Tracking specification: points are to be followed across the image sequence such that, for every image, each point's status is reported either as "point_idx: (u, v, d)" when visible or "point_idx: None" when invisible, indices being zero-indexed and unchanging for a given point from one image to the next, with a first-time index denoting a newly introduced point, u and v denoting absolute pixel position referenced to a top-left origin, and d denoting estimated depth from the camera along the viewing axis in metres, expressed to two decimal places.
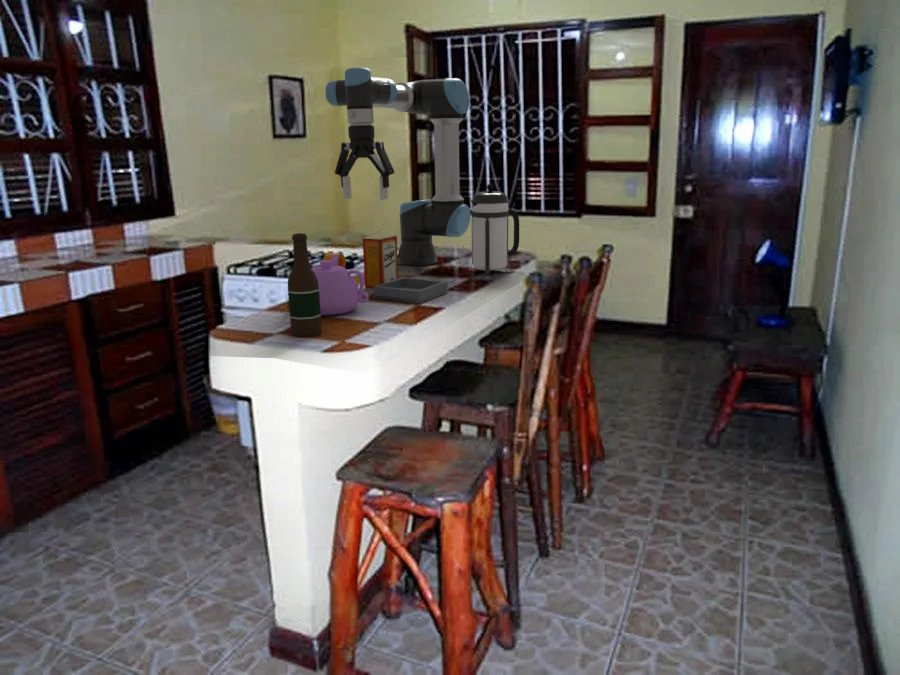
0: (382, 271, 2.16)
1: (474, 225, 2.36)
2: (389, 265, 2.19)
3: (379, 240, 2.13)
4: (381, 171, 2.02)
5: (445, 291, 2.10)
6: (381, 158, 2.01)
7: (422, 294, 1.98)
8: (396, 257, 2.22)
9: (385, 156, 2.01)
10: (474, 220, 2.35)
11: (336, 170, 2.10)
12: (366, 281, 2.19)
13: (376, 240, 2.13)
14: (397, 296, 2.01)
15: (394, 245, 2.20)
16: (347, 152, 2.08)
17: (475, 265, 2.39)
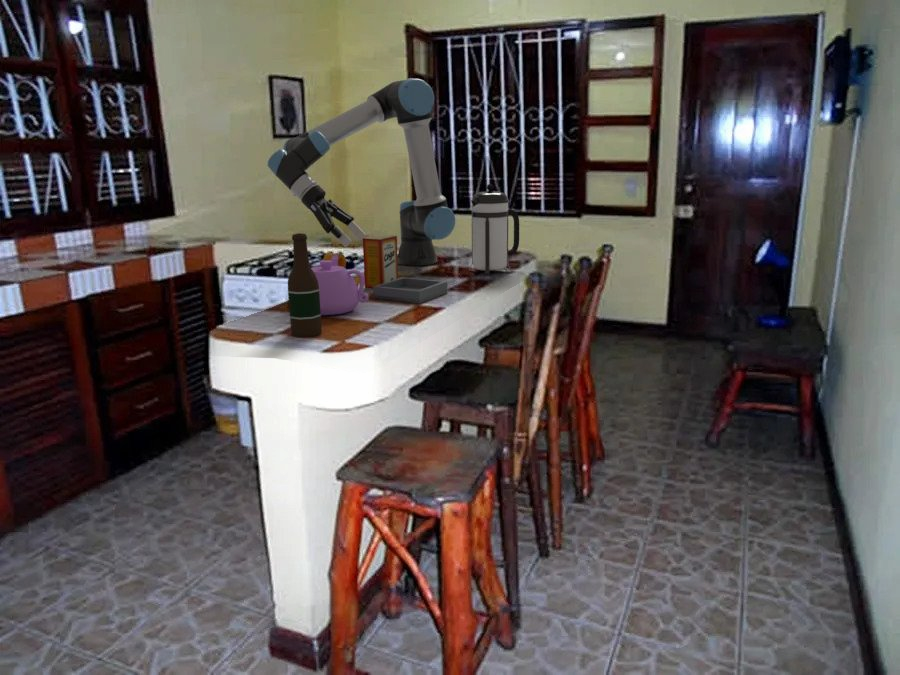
0: (382, 271, 2.16)
1: (474, 225, 2.36)
2: (389, 265, 2.19)
3: (379, 240, 2.13)
4: None
5: (445, 291, 2.10)
6: None
7: (422, 294, 1.98)
8: (396, 257, 2.22)
9: (319, 215, 2.11)
10: (474, 220, 2.35)
11: None
12: (366, 281, 2.19)
13: (376, 240, 2.13)
14: (397, 296, 2.01)
15: (394, 245, 2.20)
16: None
17: (475, 265, 2.39)
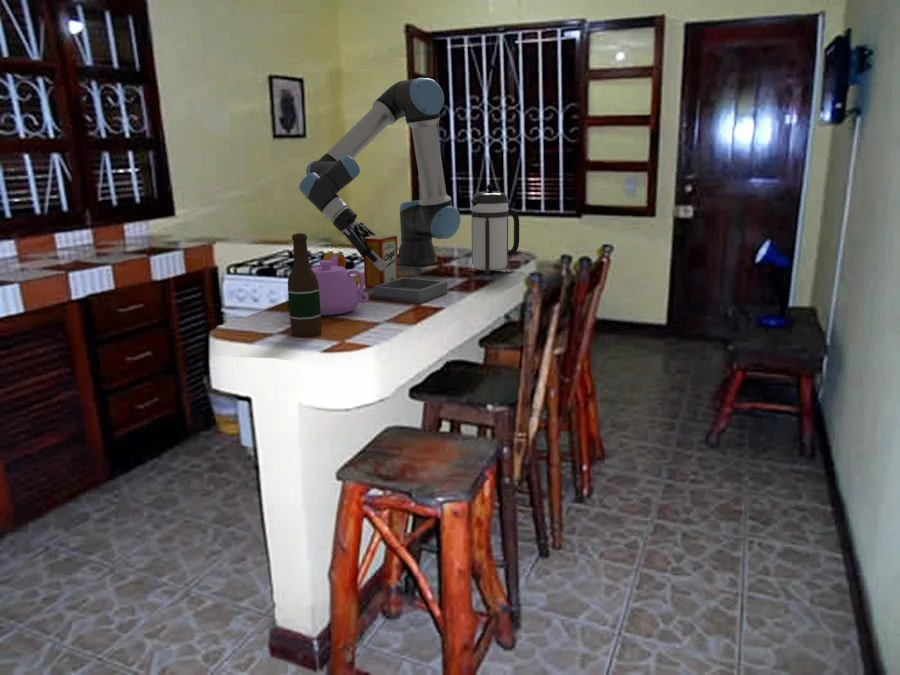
0: (383, 271, 2.16)
1: (474, 225, 2.36)
2: (389, 265, 2.19)
3: (379, 240, 2.13)
4: None
5: (445, 291, 2.10)
6: None
7: (422, 294, 1.98)
8: (396, 257, 2.22)
9: (354, 240, 2.12)
10: (474, 220, 2.35)
11: None
12: (366, 281, 2.19)
13: (376, 240, 2.13)
14: (397, 296, 2.01)
15: (394, 245, 2.20)
16: None
17: (475, 265, 2.39)
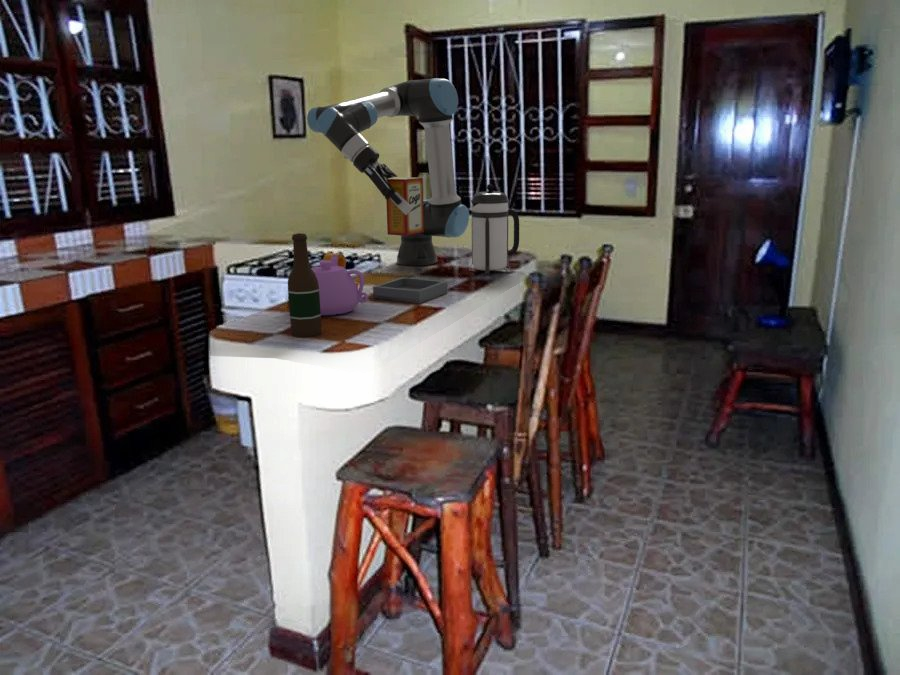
0: (407, 215, 1.97)
1: (474, 225, 2.36)
2: (414, 209, 2.00)
3: (404, 180, 1.94)
4: None
5: (445, 291, 2.10)
6: None
7: (422, 294, 1.98)
8: (422, 201, 2.03)
9: (376, 179, 1.93)
10: (474, 220, 2.35)
11: None
12: (389, 227, 2.00)
13: (401, 180, 1.94)
14: (397, 296, 2.01)
15: (420, 188, 2.01)
16: (388, 172, 2.06)
17: (475, 265, 2.39)
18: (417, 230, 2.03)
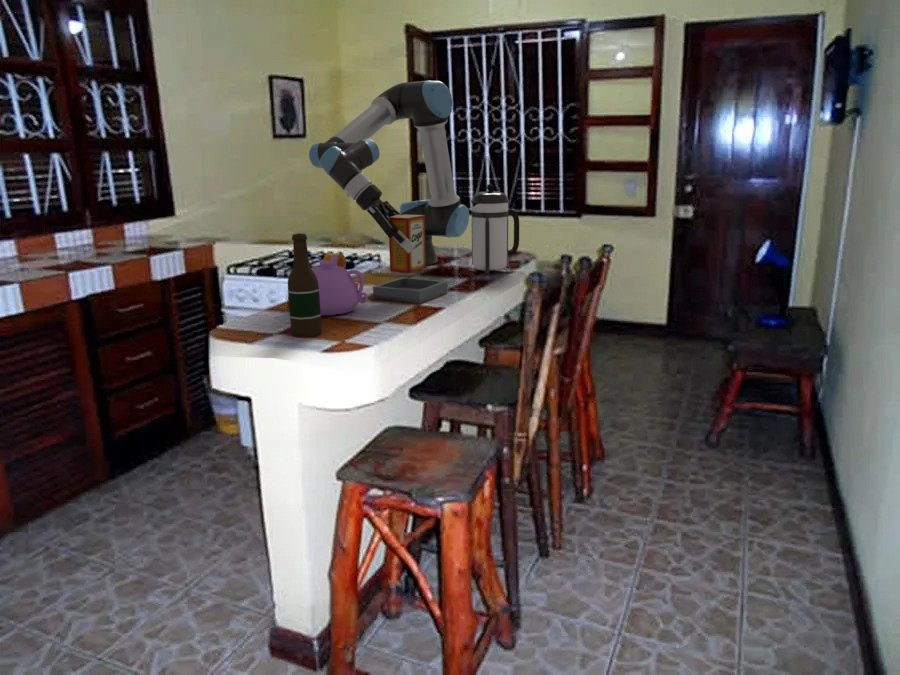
0: (410, 252, 1.99)
1: (474, 225, 2.36)
2: (416, 247, 2.02)
3: (407, 219, 1.96)
4: None
5: (445, 291, 2.10)
6: None
7: (422, 294, 1.98)
8: (424, 238, 2.05)
9: (379, 218, 1.95)
10: (474, 220, 2.35)
11: None
12: (391, 264, 2.02)
13: (403, 219, 1.96)
14: (397, 296, 2.01)
15: (422, 225, 2.03)
16: (390, 209, 2.08)
17: (475, 265, 2.39)
18: (420, 266, 2.05)
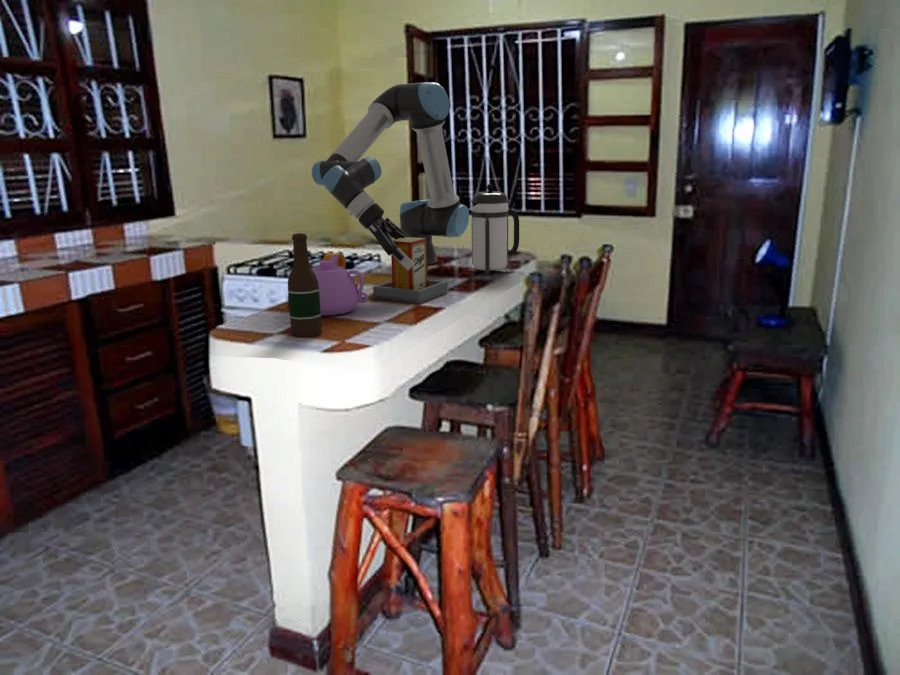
0: (412, 276, 2.02)
1: (474, 225, 2.36)
2: (418, 270, 2.04)
3: (409, 243, 1.98)
4: None
5: (445, 291, 2.10)
6: None
7: (422, 294, 1.98)
8: (425, 261, 2.08)
9: (379, 236, 1.97)
10: (474, 220, 2.35)
11: None
12: (394, 287, 2.04)
13: (406, 243, 1.99)
14: (397, 296, 2.01)
15: (424, 248, 2.06)
16: None
17: (475, 265, 2.39)
18: None
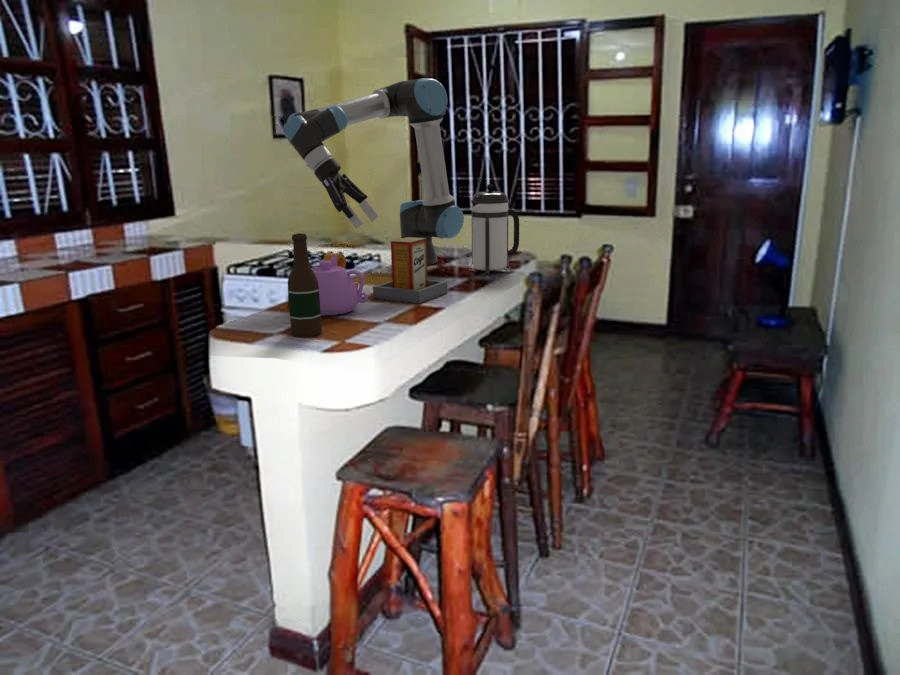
0: (412, 276, 2.02)
1: (474, 225, 2.36)
2: (418, 270, 2.04)
3: (409, 243, 1.98)
4: None
5: (445, 291, 2.10)
6: None
7: (422, 294, 1.98)
8: (425, 261, 2.08)
9: (331, 192, 2.00)
10: (474, 221, 2.35)
11: None
12: (394, 287, 2.04)
13: (406, 243, 1.99)
14: (397, 296, 2.01)
15: (424, 248, 2.06)
16: None
17: (475, 265, 2.39)
18: None
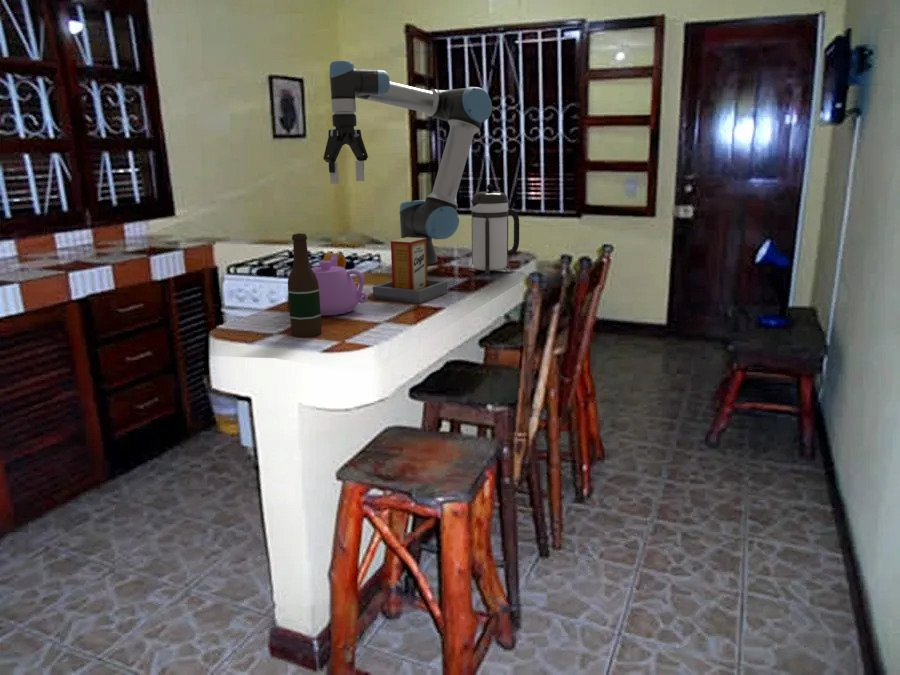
0: (412, 276, 2.02)
1: (474, 225, 2.36)
2: (418, 270, 2.04)
3: (409, 243, 1.98)
4: None
5: (445, 291, 2.10)
6: None
7: (422, 294, 1.98)
8: (425, 261, 2.08)
9: (330, 143, 2.16)
10: (474, 221, 2.35)
11: None
12: (394, 287, 2.04)
13: (406, 243, 1.99)
14: (397, 296, 2.01)
15: (424, 248, 2.06)
16: (357, 138, 2.27)
17: (475, 265, 2.39)
18: None
